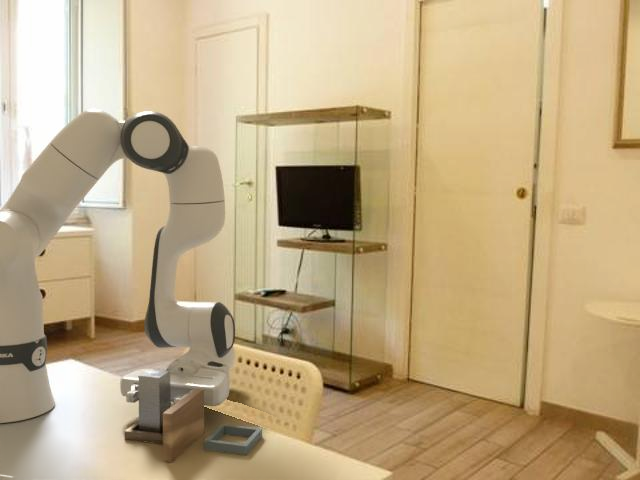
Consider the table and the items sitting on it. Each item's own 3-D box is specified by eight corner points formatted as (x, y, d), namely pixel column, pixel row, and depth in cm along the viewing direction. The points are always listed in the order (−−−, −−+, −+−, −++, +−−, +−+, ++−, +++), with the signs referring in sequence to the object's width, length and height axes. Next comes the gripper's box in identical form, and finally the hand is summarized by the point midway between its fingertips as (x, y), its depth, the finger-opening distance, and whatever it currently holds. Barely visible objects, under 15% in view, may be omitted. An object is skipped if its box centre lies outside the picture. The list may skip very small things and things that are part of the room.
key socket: (124, 439, 107) (124, 431, 107) (147, 422, 114) (147, 414, 114) (164, 444, 105) (164, 435, 105) (184, 427, 112) (184, 419, 112)
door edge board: (163, 461, 99) (162, 413, 98) (196, 431, 110) (195, 388, 109) (171, 462, 98) (171, 414, 98) (204, 432, 110) (203, 389, 109)
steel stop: (139, 436, 108) (138, 375, 107) (150, 427, 112) (150, 368, 111) (159, 439, 107) (159, 377, 106) (170, 430, 111) (170, 370, 110)
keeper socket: (204, 449, 103) (204, 441, 103) (222, 431, 110) (222, 423, 110) (246, 455, 101) (246, 446, 101) (262, 436, 109) (262, 428, 108)
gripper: (141, 357, 124) (101, 378, 111) (236, 366, 119) (206, 389, 106) (142, 387, 125) (102, 412, 111) (236, 397, 120) (206, 424, 106)
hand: (153, 401), depth 109 cm, fingers open, 8 cm apart
